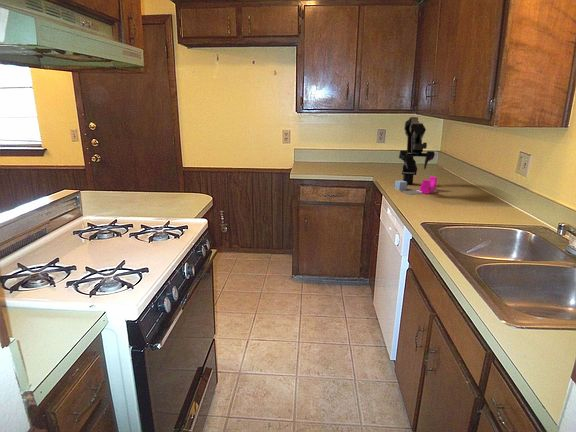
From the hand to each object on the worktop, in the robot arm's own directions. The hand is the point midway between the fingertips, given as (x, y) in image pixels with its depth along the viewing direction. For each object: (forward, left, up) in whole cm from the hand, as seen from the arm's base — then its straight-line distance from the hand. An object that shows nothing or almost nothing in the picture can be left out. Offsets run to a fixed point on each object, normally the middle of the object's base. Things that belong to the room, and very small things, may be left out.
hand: (416, 168), depth 219 cm
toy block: (-5, +13, -15) cm, 21 cm away
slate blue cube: (-14, +1, -15) cm, 21 cm away
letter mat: (-5, +10, -15) cm, 18 cm away
